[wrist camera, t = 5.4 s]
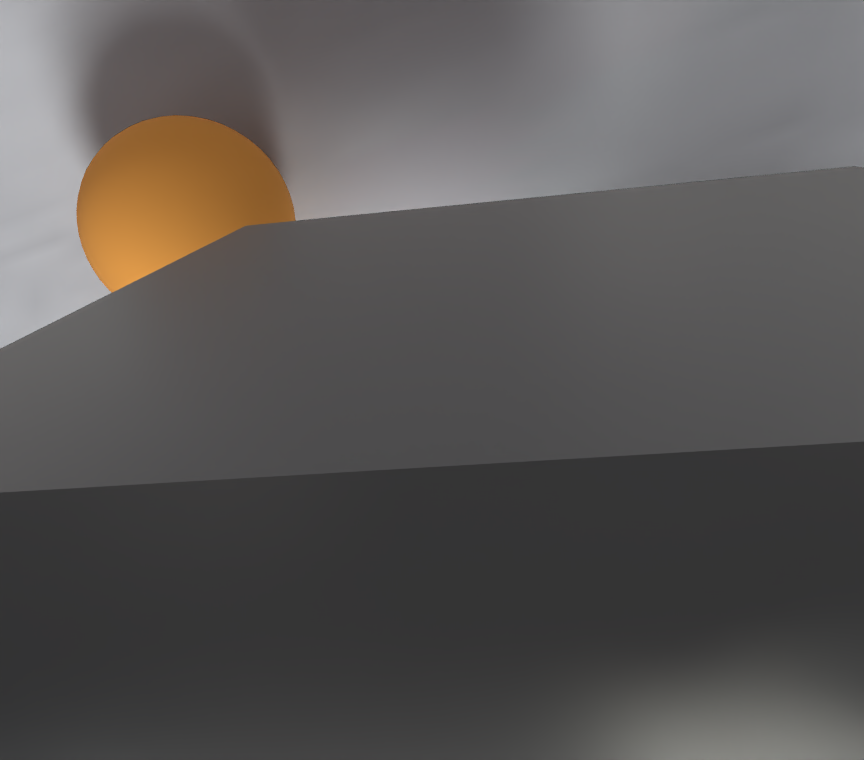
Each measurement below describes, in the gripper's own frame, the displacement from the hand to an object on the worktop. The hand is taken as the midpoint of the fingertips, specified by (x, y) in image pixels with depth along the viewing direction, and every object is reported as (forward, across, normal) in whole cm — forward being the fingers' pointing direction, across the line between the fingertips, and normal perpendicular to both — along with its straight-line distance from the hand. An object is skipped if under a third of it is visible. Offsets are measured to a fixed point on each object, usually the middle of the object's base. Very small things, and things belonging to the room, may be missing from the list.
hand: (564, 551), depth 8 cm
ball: (+9, +8, -3) cm, 13 cm away
